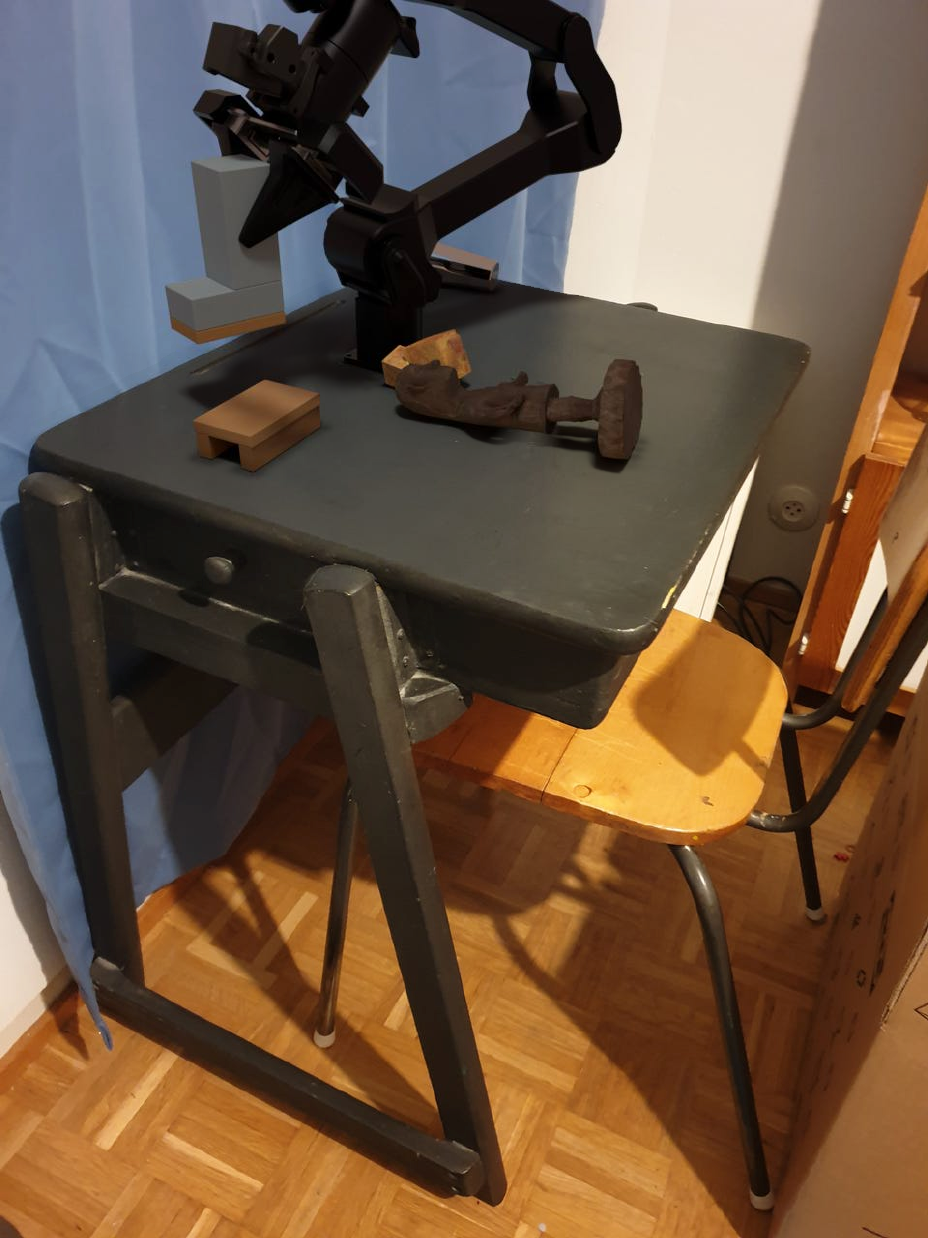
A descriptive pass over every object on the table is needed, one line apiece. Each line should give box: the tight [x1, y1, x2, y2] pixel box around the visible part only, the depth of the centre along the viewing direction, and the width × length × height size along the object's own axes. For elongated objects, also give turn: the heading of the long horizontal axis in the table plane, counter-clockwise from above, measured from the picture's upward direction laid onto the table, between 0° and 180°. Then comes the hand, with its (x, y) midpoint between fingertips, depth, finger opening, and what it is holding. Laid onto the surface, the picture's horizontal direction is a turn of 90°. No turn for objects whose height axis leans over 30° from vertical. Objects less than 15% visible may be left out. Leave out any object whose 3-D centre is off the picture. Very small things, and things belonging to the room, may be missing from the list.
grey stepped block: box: [164, 154, 287, 345], centre depth 72 cm, size 8×4×12 cm, turn 131°
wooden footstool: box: [192, 379, 322, 473], centre depth 73 cm, size 9×5×3 cm, turn 153°
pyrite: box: [382, 328, 473, 388], centre depth 82 cm, size 5×7×4 cm
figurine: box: [394, 358, 644, 460], centre depth 75 cm, size 9×8×20 cm
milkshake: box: [429, 241, 500, 292], centre depth 105 cm, size 5×5×10 cm
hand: (227, 237), depth 72 cm, fingers closed on grey stepped block, 4 cm apart
